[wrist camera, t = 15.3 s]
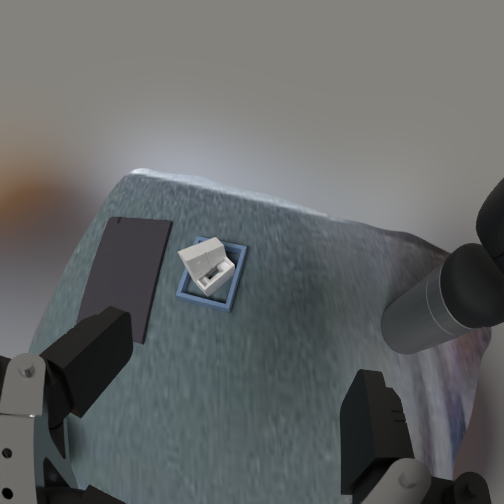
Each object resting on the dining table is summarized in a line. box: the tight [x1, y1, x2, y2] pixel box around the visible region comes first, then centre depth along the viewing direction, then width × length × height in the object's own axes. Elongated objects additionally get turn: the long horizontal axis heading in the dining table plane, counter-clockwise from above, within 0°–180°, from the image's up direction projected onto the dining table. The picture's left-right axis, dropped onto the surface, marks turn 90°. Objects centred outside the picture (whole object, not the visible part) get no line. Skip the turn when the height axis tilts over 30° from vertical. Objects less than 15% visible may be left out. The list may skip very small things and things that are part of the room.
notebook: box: [77, 217, 172, 345], centre depth 46 cm, size 13×2×21 cm
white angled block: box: [178, 237, 235, 297], centre depth 42 cm, size 4×10×9 cm, turn 133°
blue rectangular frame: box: [176, 236, 247, 312], centre depth 45 cm, size 8×10×2 cm
